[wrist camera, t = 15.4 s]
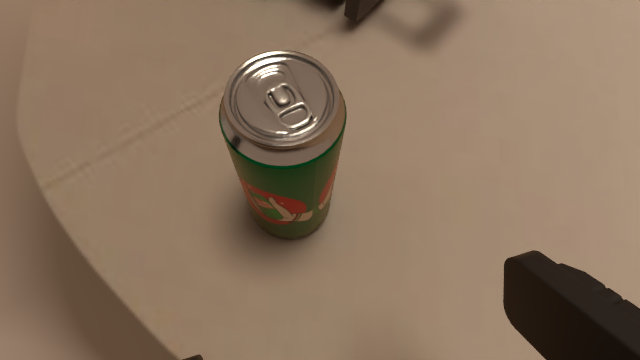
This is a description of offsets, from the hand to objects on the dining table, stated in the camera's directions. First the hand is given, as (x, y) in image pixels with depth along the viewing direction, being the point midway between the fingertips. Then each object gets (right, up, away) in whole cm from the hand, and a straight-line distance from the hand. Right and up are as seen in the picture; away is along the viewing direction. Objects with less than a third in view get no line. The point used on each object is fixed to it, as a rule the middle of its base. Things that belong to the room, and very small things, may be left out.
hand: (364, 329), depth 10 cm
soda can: (-3, +2, +16) cm, 16 cm away
